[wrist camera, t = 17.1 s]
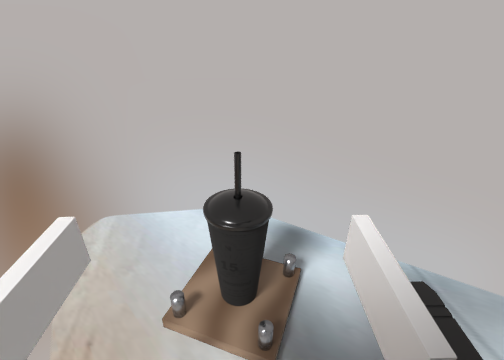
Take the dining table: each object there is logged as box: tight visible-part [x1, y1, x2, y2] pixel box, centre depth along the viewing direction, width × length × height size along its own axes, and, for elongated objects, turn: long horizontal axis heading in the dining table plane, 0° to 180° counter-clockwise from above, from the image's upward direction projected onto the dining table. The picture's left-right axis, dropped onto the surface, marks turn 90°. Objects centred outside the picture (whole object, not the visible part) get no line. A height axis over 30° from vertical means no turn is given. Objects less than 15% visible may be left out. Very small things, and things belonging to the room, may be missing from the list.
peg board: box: [162, 248, 301, 360], centre depth 38 cm, size 14×14×4 cm
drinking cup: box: [203, 152, 273, 306], centre depth 33 cm, size 8×8×20 cm
